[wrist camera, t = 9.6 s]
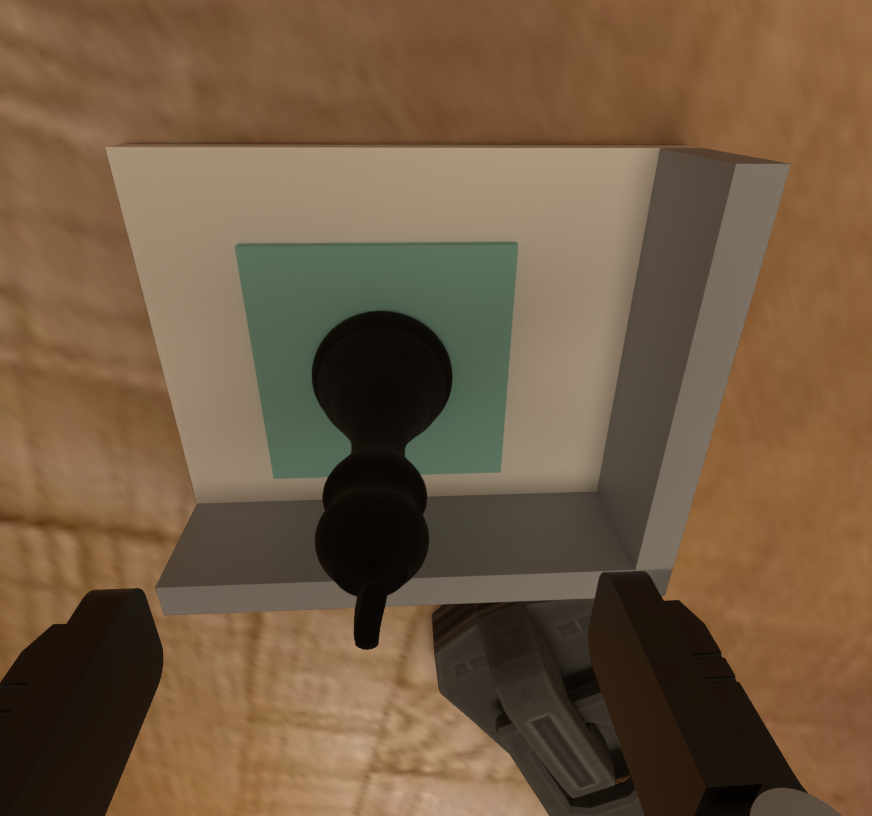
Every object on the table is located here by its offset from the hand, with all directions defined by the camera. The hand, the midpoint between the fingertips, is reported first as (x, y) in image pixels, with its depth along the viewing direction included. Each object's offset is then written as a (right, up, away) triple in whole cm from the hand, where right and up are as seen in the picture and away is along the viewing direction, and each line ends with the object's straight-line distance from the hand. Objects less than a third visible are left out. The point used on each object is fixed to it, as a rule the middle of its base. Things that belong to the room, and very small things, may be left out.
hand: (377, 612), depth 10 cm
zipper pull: (+9, -13, +20) cm, 26 cm away
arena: (0, +5, +9) cm, 11 cm away
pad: (-1, +5, +8) cm, 10 cm away
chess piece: (-1, +5, +8) cm, 9 cm away
